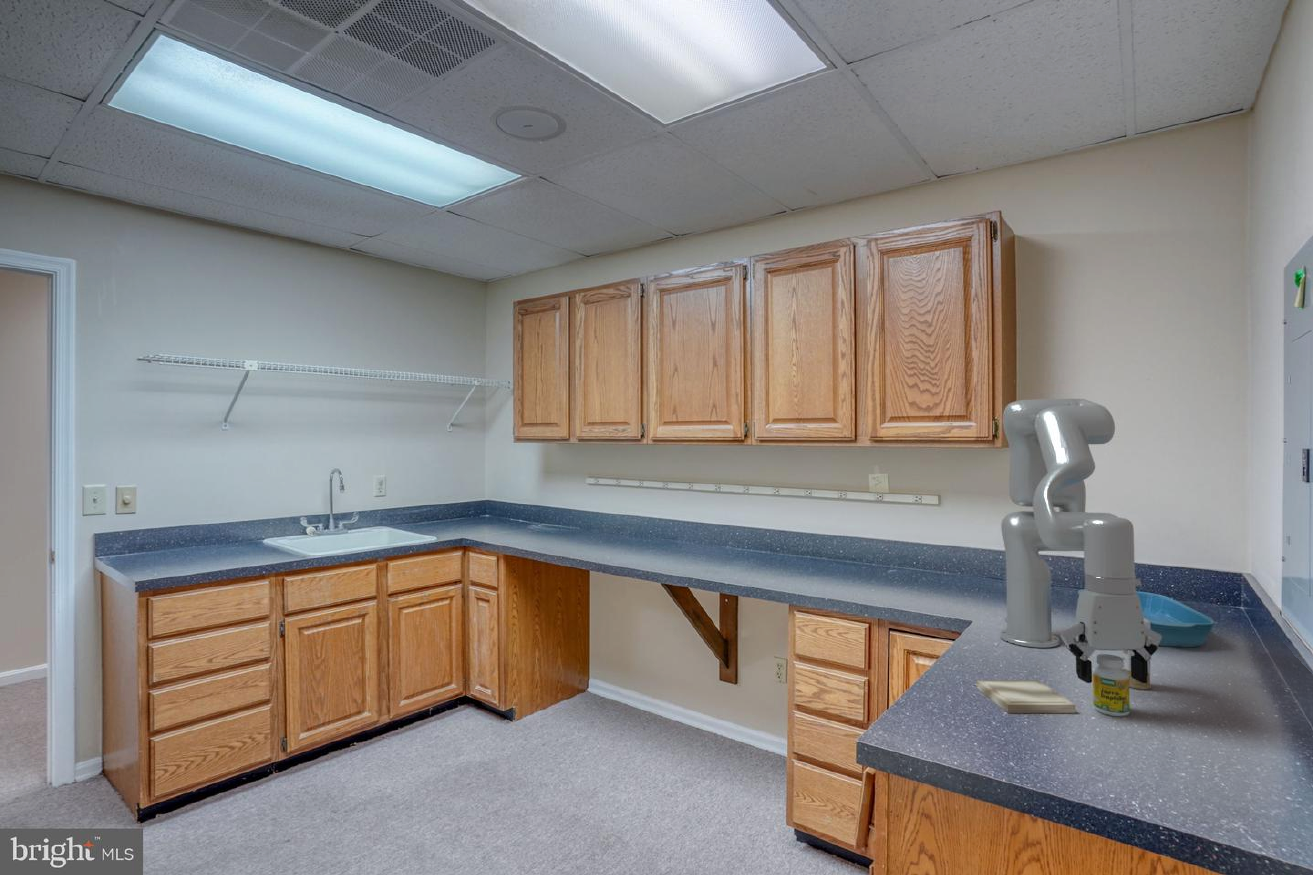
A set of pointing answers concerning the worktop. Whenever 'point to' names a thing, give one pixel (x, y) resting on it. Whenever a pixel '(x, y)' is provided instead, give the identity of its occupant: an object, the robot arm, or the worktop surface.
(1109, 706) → the supplement bottle
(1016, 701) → the cream square tray
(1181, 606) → the casserole dish
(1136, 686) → the sprinkles bottle
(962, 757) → the worktop surface
